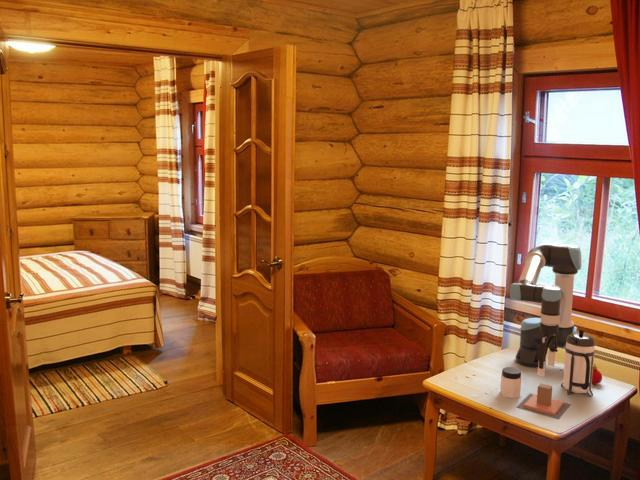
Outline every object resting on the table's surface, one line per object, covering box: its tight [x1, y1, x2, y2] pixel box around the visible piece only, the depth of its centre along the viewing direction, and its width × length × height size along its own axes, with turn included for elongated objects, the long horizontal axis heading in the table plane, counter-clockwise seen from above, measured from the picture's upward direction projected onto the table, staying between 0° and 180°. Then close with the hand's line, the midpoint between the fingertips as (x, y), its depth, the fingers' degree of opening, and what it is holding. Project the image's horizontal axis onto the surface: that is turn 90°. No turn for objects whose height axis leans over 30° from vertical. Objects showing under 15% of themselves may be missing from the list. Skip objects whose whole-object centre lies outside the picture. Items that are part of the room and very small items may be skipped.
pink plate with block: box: [524, 383, 565, 416], centre depth 260 cm, size 13×13×9 cm
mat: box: [516, 393, 572, 420], centre depth 260 cm, size 18×18×1 cm
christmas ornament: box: [591, 363, 603, 385], centre depth 284 cm, size 7×7×10 cm
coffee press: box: [560, 328, 597, 397], centre depth 273 cm, size 17×16×30 cm
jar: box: [500, 366, 522, 399], centre depth 271 cm, size 9×8×12 cm
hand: (546, 370), depth 257 cm, fingers open, 13 cm apart
